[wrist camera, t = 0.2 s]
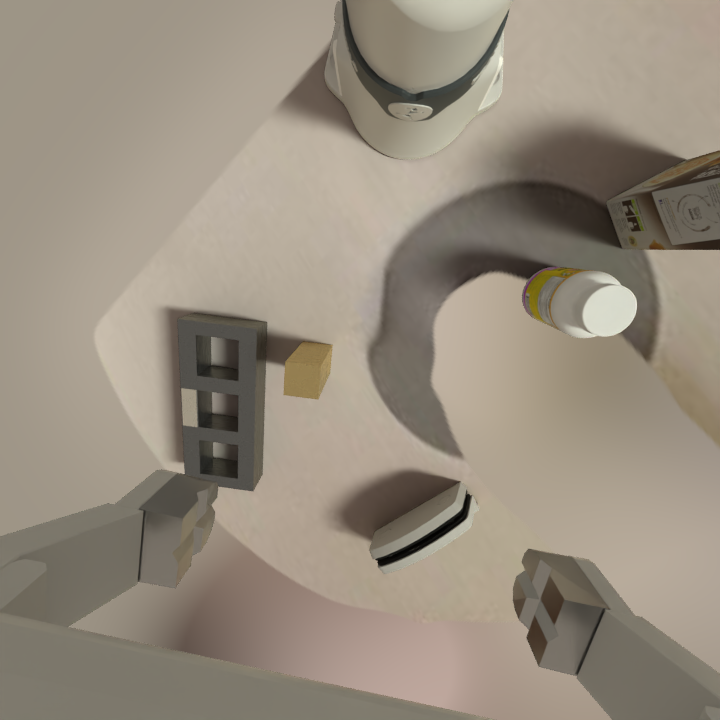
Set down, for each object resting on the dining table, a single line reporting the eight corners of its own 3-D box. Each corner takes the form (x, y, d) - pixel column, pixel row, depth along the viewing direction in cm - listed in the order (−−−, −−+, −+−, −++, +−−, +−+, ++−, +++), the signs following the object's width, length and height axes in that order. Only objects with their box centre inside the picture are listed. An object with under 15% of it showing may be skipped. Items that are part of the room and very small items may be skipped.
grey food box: (622, 252, 42) (757, 255, 27) (604, 201, 40) (736, 173, 25) (705, 210, 40) (901, 188, 25) (689, 155, 39) (888, 95, 23)
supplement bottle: (587, 281, 43) (667, 295, 31) (554, 329, 45) (617, 359, 33) (540, 256, 43) (602, 259, 30) (509, 305, 45) (555, 327, 32)
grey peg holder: (193, 313, 48) (176, 318, 44) (267, 322, 47) (256, 328, 44) (199, 465, 55) (184, 482, 51) (262, 474, 55) (253, 491, 51)
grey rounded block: (392, 553, 58) (378, 593, 48) (375, 527, 58) (358, 561, 49) (481, 503, 54) (485, 537, 44) (462, 476, 54) (462, 503, 45)
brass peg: (303, 341, 48) (285, 361, 39) (332, 344, 48) (320, 366, 39) (301, 369, 49) (283, 394, 41) (329, 372, 49) (318, 399, 41)
